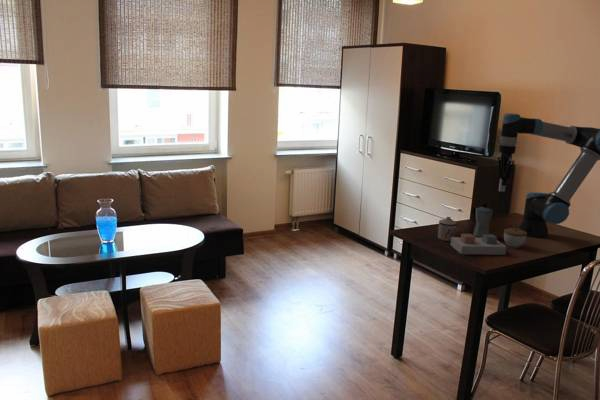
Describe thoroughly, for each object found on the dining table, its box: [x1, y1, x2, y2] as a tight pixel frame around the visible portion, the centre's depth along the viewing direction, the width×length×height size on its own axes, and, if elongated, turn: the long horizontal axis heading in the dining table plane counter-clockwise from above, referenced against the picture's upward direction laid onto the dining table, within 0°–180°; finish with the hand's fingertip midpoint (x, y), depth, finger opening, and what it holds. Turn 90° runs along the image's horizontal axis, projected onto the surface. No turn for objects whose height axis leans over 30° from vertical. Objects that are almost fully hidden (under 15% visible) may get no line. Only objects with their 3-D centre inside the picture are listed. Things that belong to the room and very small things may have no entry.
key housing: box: [450, 236, 508, 256], centre depth 257 cm, size 22×14×4 cm, turn 95°
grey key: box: [482, 233, 498, 244], centre depth 257 cm, size 5×5×4 cm
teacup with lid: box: [437, 216, 459, 242], centre depth 273 cm, size 12×9×12 cm
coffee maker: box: [472, 202, 494, 238], centre depth 281 cm, size 15×9×18 cm, turn 20°
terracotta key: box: [460, 233, 476, 244], centre depth 256 cm, size 5×5×4 cm
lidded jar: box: [503, 227, 527, 249], centre depth 265 cm, size 11×11×9 cm
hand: (501, 191), depth 267 cm, fingers closed
